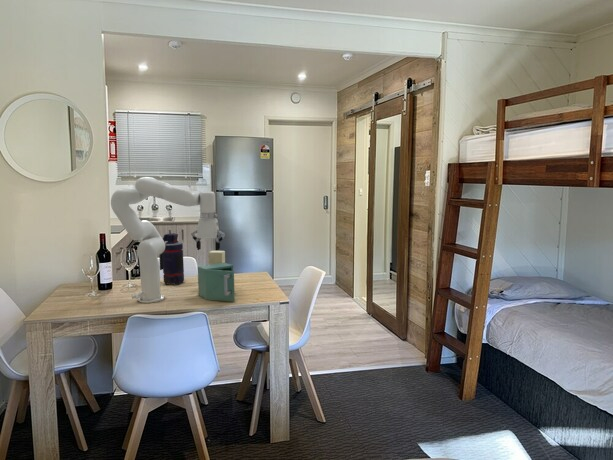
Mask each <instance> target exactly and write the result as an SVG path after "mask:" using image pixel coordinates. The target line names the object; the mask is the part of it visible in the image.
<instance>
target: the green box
mask: <svg viewBox="0 0 613 460" xmlns="http://www.w3.org/2000/svg"><path fill="white" fill-rule="evenodd" d="M205 271H206V297H207V299H206V300H207V301H220V302H231V303H235V302H236V296H235V294H236V293H235V291H236V290H235V271H234V270H233V271H222V270H205Z"/></svg>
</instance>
